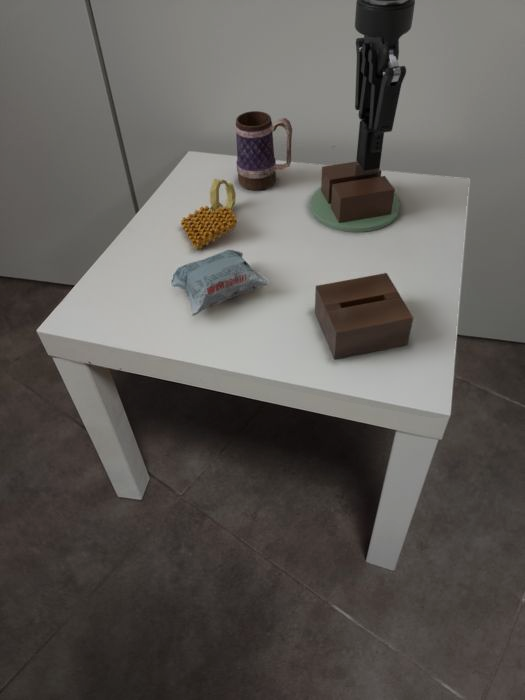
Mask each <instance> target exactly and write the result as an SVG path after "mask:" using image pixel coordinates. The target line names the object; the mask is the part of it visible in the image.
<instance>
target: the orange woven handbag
mask: <svg viewBox="0 0 525 700" xmlns="http://www.w3.org/2000/svg"><path fill="white" fill-rule="evenodd" d="M222 184H224V187H225V188H224V189H225V193H226V196H227V198H226V202H225V205H223V204H222V203H221V202H220V188H221V185H222ZM236 193H237V192H236V189H235V186H234V184H233V182H228V181H227V180H226V179H217V178H214V179H213V180H212V183H211V186H210V190H209V203H210V205H211V206H210V207H209V206H208V205H205V206H201V207H199V209H198V210H197V209H195V211H194V213H189V214H188V215H187V217H184V216H183V217H182V220H181V221H180V225H181V226H182V229H184V233H186V236H187V238H188V239H189V241H190V242H191V244H192V245H193V248H194V249H196V250H198V249H200V250H201V249H202V248H203V246H205V245H206V246H208V245H209V244H210V242H211V241H212V242H215V241H216V238H219V239H220V238H221V237H222V236H223V234H224V235H226V234H228V233H229V232H228V231H229V230H230V232H233V230H234V229H235V227H237V223H238V220H237V215H236V214H234V211H233V210H234V207H235V205H236V198H237V197H236V196H237V195H236Z"/></svg>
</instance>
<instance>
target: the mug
mask: <svg viewBox="0 0 525 700" xmlns="http://www.w3.org/2000/svg"><path fill="white" fill-rule="evenodd" d="M278 127H282V128H283V129H284V130H285V132H286V135H287V136H286V162H285V163H277V162H276V157H275V147H274V135H273V132H276V131H277V128H278ZM235 135H236V157H237V158H236V171H237V180H238V184H239V185H240V186H241V187H242V188H244V189H246V190H250V191H263V190H266V189H268V188H270V187H271V186H273V185H274V184H275V183H276V180H277V174H276V172H277V171H284V170H286V169H287V168H289V167H290V166H291V163H292V138H293V126H292V123H291V121H290V120H289V119H287V118H286V117H284V118H279V119H278V120H275V122H274V124H273V121H272V117H271V115H270V114H269V113H267V112H264V111H260V110H252V111H246V112H243V113H241V114H239V115H238V116H237V117H236V119H235Z"/></svg>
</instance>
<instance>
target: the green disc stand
mask: <svg viewBox="0 0 525 700" xmlns="http://www.w3.org/2000/svg"><path fill="white" fill-rule="evenodd" d="M356 165H360V164H359V162H357V161H350V162H345V163H344V162H343V163H338V164H331V165H324V166H322V167H321V180H320V181H321V182H320V183H321V184H320V187H319V188H318V189H317V190H316V191H315V192H314V193H313V195H312V196H311V199H310V210H311V213H312V215H313V217H314V218H316V220H317V221H319V222H320V223H321V224H323V225H325V226H327V227H329V228H332V229H333V230H338V231H341V232H349V233H364V232H372V231H376V230H379V229H382V228H384V227H386V226H388V225H390V224H391V223H393V222H394V221H395V219H397V217H398V215H399V212H400V206H401V203H400V200H399V197H398V196H397V194H396V193H395V192H396V189H395V187H394V186H393V185H392V183H391V182H390V181H389V179H388V178H387V176H386V175H382V170H381V168H379V172H378V177H374V178H368V179H362V180H356V181H354V177H355V166H356Z"/></svg>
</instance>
